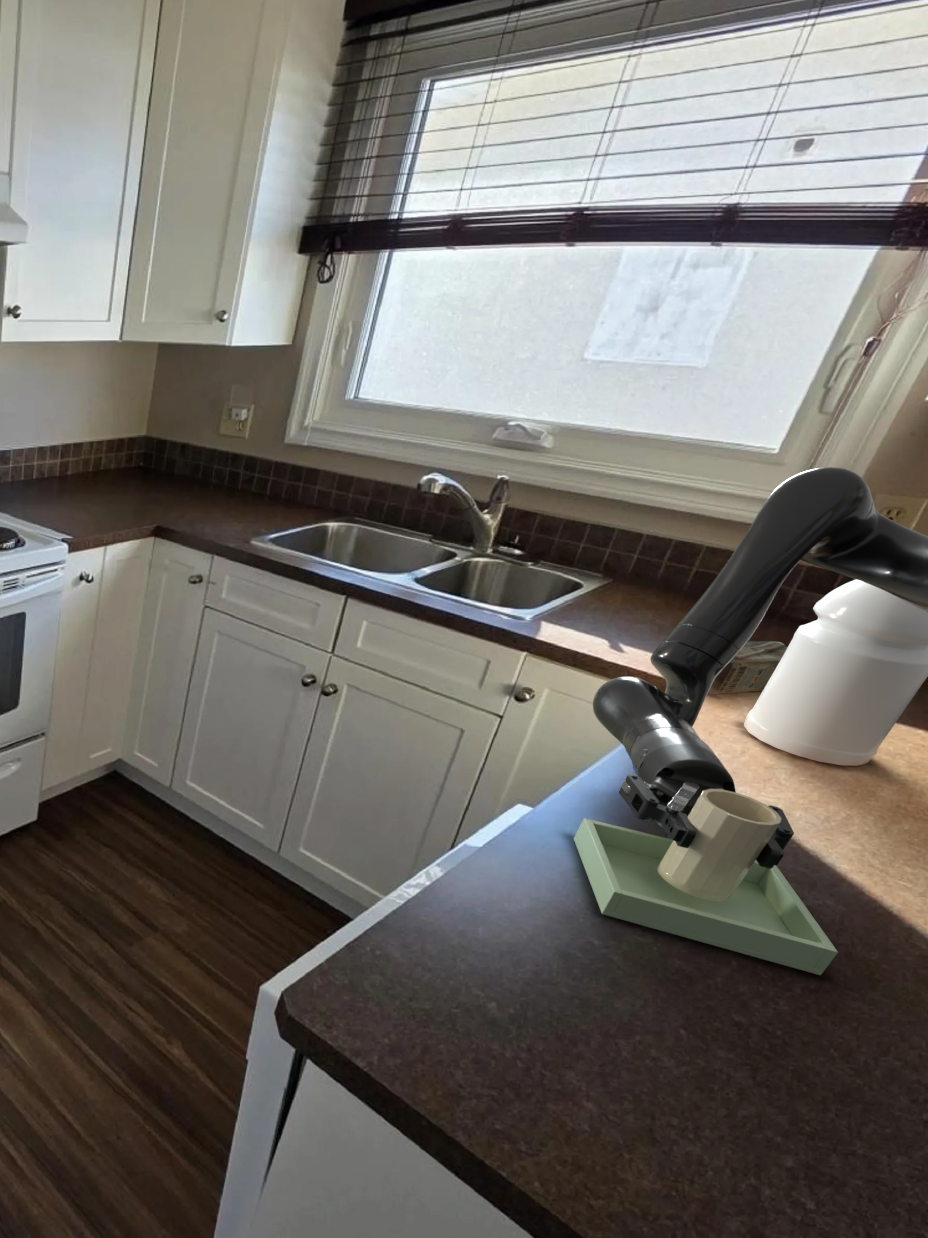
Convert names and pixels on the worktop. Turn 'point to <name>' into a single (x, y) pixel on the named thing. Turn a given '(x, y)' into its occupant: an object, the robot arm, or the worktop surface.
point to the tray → (700, 901)
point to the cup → (719, 844)
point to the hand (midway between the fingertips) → (728, 850)
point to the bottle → (844, 677)
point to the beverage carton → (749, 668)
